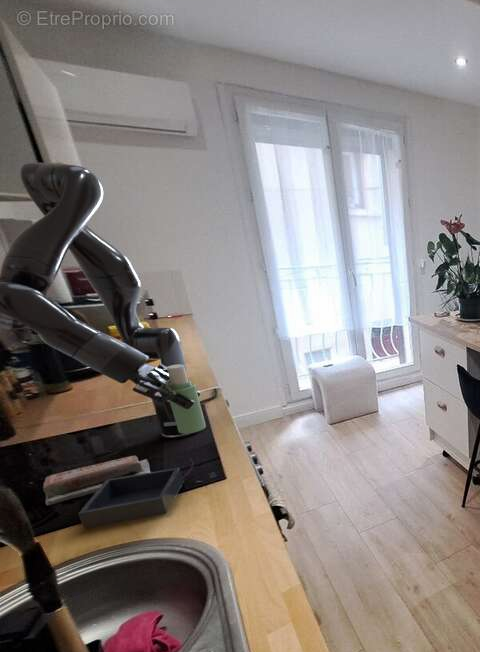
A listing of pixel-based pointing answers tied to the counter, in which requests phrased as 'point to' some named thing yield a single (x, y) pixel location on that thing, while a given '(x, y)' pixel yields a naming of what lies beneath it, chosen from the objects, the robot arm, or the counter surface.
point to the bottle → (193, 416)
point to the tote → (132, 498)
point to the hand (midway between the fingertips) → (194, 401)
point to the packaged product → (90, 478)
